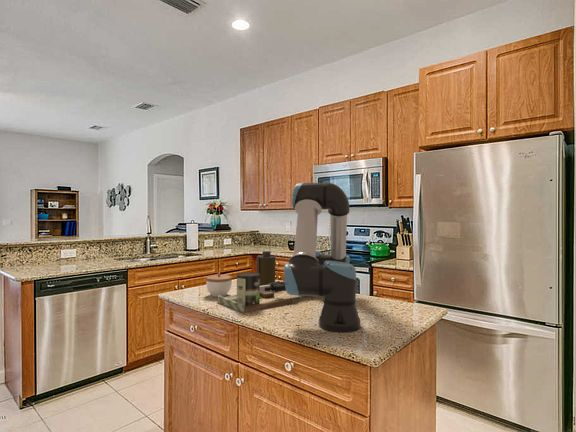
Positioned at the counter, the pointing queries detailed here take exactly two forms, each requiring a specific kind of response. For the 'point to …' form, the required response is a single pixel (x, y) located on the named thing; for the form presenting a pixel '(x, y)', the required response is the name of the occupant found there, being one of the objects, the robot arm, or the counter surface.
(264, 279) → the canister
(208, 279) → the lidded bowl
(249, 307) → the trap lane
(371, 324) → the counter surface
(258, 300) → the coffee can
